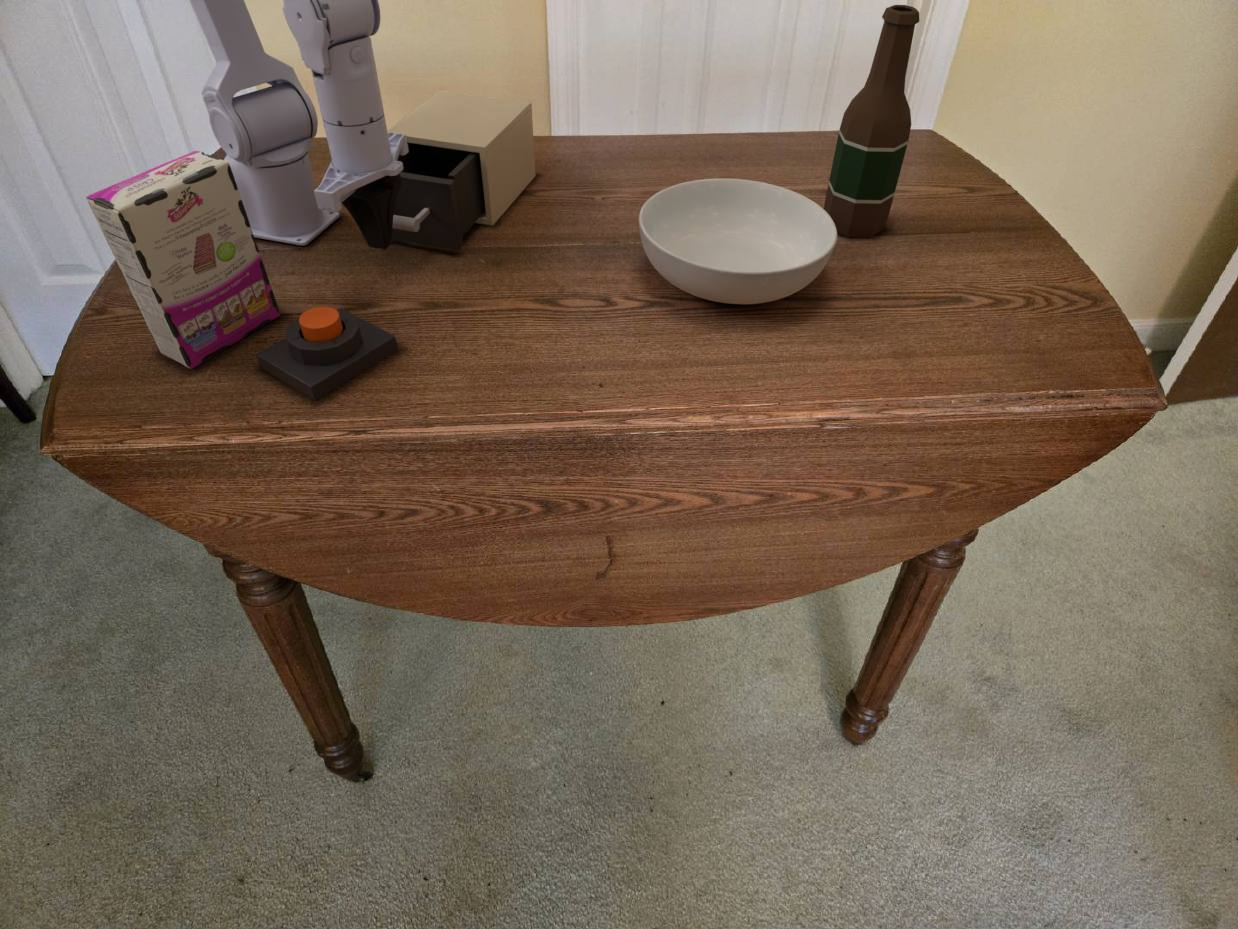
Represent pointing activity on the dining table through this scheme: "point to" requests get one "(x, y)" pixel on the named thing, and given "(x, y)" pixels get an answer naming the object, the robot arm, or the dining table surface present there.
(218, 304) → the candy bar box
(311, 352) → the control block
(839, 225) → the beer bottle
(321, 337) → the button
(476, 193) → the drawer
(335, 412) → the dining table surface
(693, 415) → the dining table surface
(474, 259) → the dining table surface
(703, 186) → the serving bowl
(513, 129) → the cabinet
